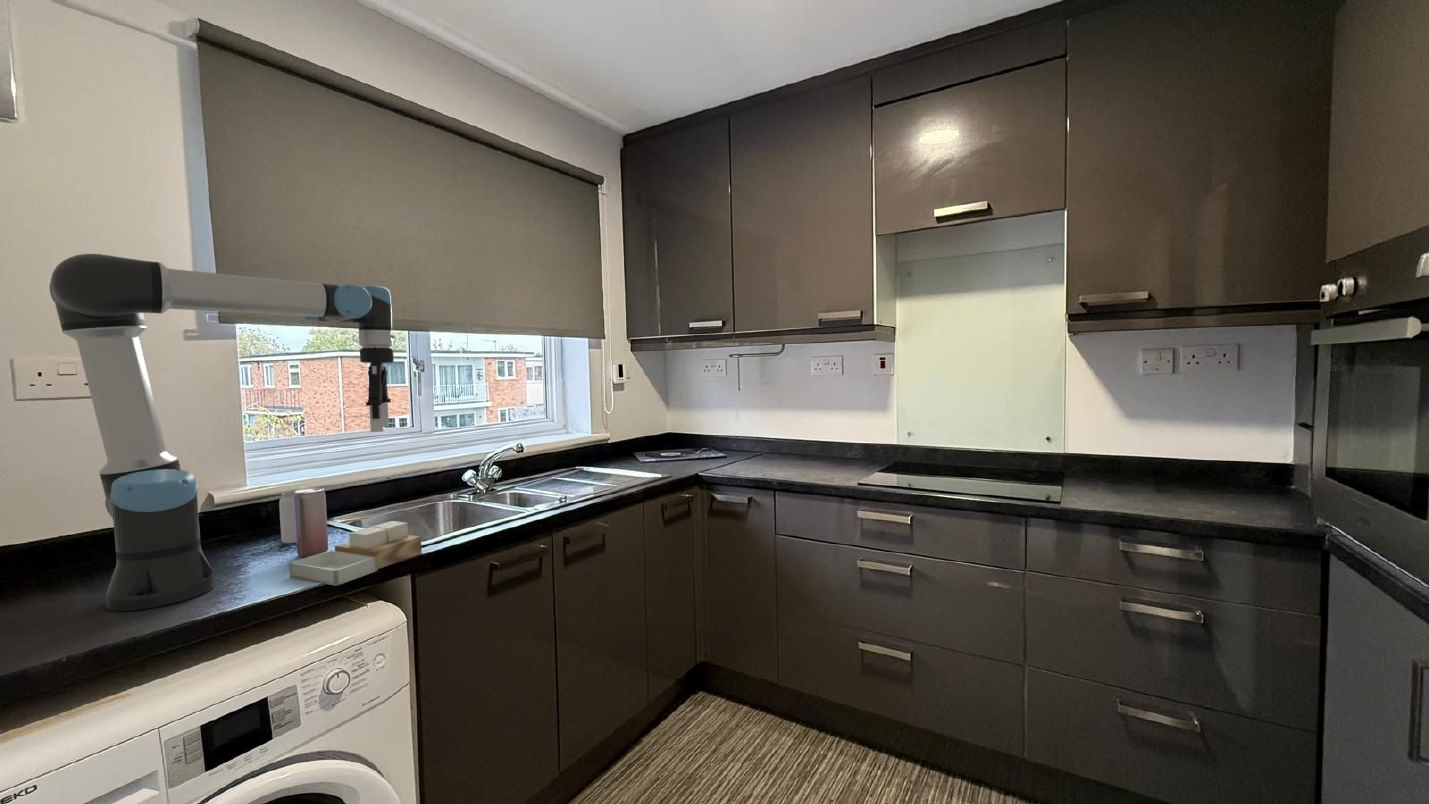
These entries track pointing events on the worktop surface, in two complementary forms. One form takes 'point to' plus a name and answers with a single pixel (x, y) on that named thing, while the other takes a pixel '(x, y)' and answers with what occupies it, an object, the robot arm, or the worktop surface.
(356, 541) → the tile front
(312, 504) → the beverage can
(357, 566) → the tray
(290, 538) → the can
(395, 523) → the tile rear
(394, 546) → the board
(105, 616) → the worktop surface
